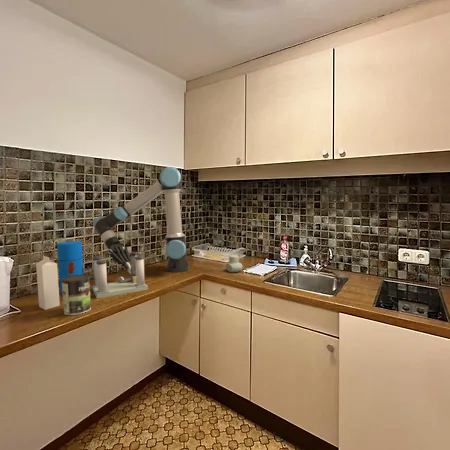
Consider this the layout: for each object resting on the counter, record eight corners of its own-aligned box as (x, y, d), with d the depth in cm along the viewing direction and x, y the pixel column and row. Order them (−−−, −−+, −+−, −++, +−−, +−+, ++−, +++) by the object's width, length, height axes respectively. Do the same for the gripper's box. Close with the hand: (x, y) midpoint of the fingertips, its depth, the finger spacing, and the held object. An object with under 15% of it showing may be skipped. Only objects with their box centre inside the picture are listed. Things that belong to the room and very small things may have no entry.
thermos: (60, 297, 136) (57, 245, 133) (59, 291, 145) (56, 242, 142) (85, 293, 141) (83, 243, 139) (83, 287, 150) (80, 240, 148)
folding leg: (138, 278, 158) (137, 251, 157) (140, 280, 154) (139, 252, 153) (117, 281, 153) (116, 253, 152) (119, 283, 149) (117, 255, 148)
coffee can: (96, 306, 123) (94, 274, 122) (79, 316, 113) (77, 281, 112) (75, 305, 125) (73, 273, 124) (57, 314, 115) (55, 280, 114)
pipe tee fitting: (244, 272, 179) (244, 256, 178) (234, 274, 174) (233, 258, 173) (234, 268, 188) (233, 253, 187) (223, 270, 183) (223, 255, 182)
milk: (53, 303, 128) (50, 254, 126) (59, 305, 125) (57, 256, 123) (38, 307, 123) (35, 256, 122) (44, 310, 120) (41, 258, 118)
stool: (139, 281, 160) (138, 251, 158) (147, 289, 146) (146, 256, 144) (92, 289, 147) (90, 256, 145) (97, 298, 133) (95, 262, 132)
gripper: (116, 242, 170) (137, 273, 165) (98, 245, 159) (119, 279, 153) (122, 234, 167) (144, 266, 161) (104, 237, 156) (126, 271, 150)
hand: (132, 272), depth 157 cm, fingers closed
